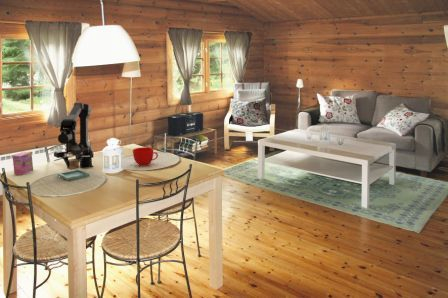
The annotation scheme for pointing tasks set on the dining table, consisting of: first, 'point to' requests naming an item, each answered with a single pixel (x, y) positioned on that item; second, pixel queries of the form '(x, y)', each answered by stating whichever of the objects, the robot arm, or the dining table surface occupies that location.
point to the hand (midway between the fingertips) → (72, 166)
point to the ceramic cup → (144, 155)
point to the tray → (73, 174)
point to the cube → (73, 164)
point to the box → (22, 163)
